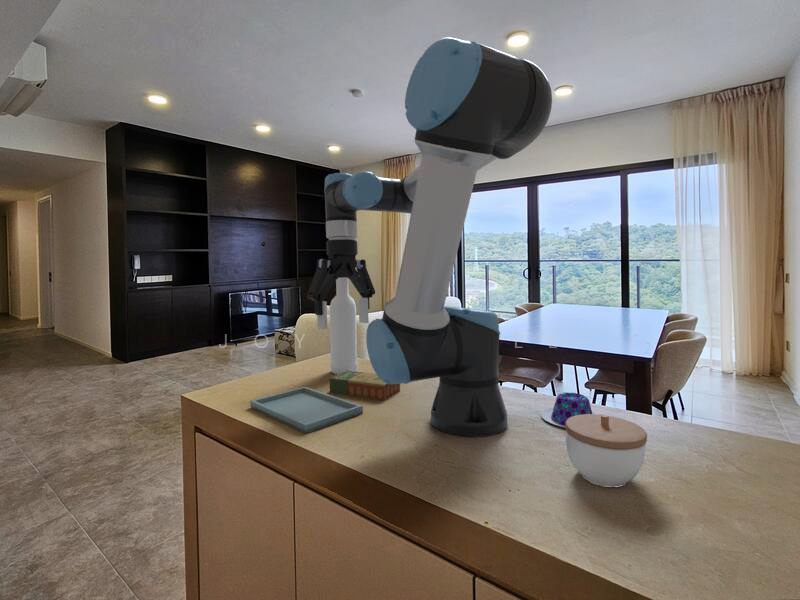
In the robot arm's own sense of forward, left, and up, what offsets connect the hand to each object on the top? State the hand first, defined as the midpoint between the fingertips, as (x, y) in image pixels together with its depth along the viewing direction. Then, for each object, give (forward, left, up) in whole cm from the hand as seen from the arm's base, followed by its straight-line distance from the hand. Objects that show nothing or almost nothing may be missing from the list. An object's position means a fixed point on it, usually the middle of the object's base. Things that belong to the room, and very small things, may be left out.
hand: (344, 325), depth 103 cm
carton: (-4, -3, -17) cm, 18 cm away
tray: (-4, +15, -17) cm, 23 cm away
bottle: (+15, -12, -17) cm, 26 cm away
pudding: (-50, -18, -17) cm, 56 cm away
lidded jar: (-62, +2, -17) cm, 64 cm away
